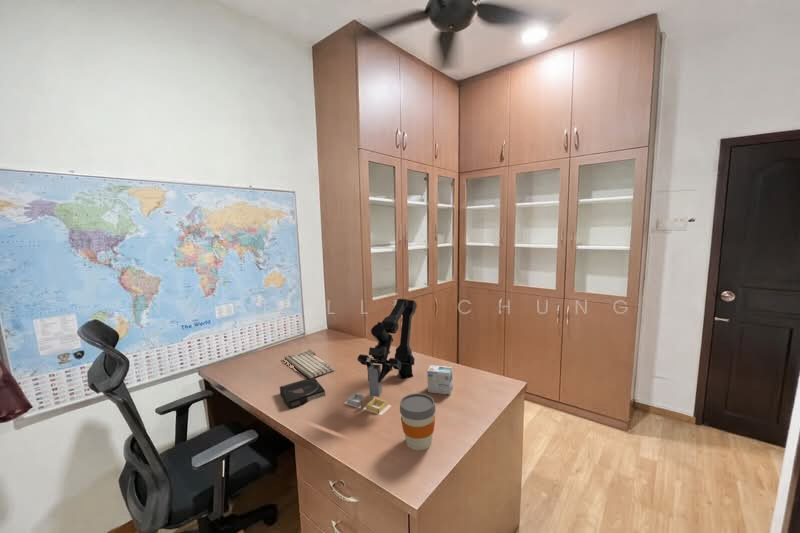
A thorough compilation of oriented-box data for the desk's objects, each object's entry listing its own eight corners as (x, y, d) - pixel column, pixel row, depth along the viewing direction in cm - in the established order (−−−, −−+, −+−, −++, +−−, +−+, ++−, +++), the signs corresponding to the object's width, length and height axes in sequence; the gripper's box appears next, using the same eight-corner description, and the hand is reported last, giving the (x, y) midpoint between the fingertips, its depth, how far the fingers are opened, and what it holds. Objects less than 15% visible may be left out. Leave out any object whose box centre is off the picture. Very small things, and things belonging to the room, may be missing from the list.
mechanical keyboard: (340, 370, 177) (339, 364, 177) (307, 382, 165) (307, 376, 165) (310, 352, 206) (309, 347, 205) (280, 361, 193) (279, 356, 193)
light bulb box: (453, 388, 151) (452, 366, 150) (450, 395, 145) (449, 372, 143) (431, 385, 154) (430, 364, 153) (427, 392, 148) (426, 370, 147)
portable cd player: (289, 411, 139) (288, 402, 139) (280, 394, 154) (279, 386, 153) (325, 398, 148) (325, 390, 147) (314, 384, 162) (313, 376, 162)
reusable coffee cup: (406, 428, 122) (405, 391, 121) (439, 433, 119) (438, 395, 117) (397, 450, 110) (394, 410, 109) (433, 456, 107) (431, 414, 105)
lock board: (392, 407, 137) (391, 396, 136) (381, 417, 130) (380, 405, 130) (355, 396, 147) (354, 386, 147) (343, 405, 141) (343, 394, 140)
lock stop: (382, 391, 137) (380, 365, 135) (379, 396, 133) (377, 369, 131) (373, 391, 138) (371, 364, 136) (370, 396, 134) (368, 368, 132)
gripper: (357, 336, 139) (346, 371, 131) (397, 340, 132) (387, 378, 124) (367, 347, 148) (357, 381, 139) (405, 351, 140) (396, 387, 132)
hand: (373, 381), depth 133 cm, fingers closed on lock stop, 4 cm apart
